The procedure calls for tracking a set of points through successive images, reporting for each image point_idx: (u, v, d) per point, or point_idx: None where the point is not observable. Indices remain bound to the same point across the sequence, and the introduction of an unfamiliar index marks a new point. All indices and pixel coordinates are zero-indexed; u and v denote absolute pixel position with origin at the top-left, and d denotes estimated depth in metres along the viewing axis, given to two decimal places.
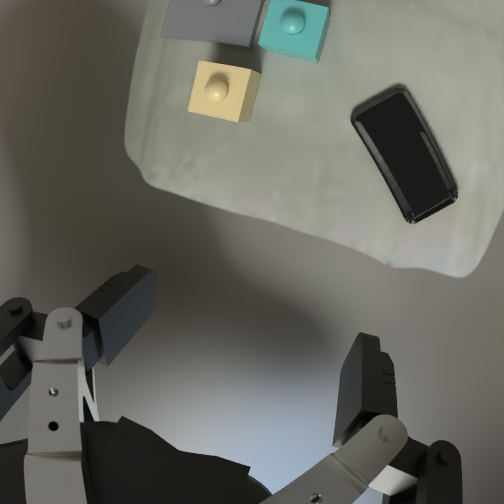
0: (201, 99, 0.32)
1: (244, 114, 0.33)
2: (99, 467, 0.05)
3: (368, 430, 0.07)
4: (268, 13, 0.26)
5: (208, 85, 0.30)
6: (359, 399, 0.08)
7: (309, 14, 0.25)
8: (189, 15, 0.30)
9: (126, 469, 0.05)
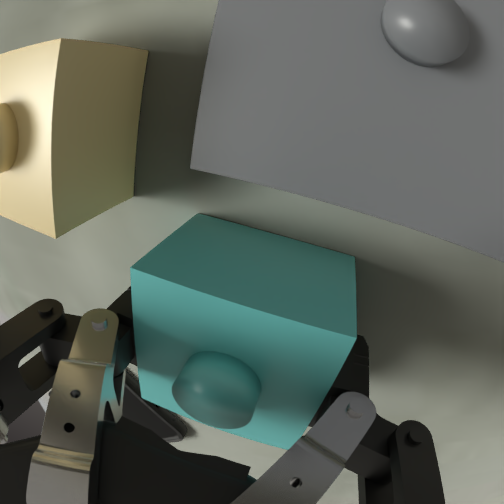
0: None
1: None
2: (99, 467, 0.05)
3: (335, 405, 0.07)
4: (266, 318, 0.08)
5: None
6: None
7: (264, 419, 0.09)
8: None
9: (126, 469, 0.05)
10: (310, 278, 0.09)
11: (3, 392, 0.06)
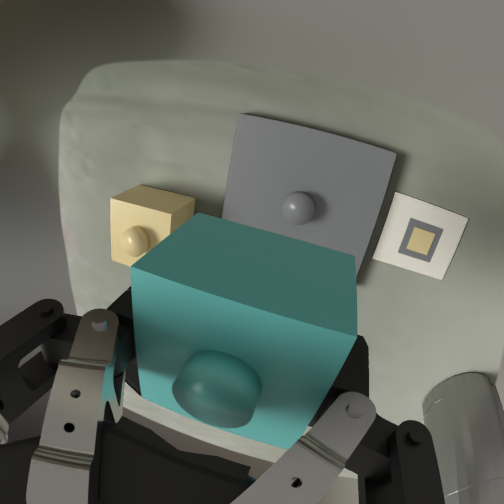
0: (125, 216, 0.25)
1: None
2: (99, 467, 0.05)
3: (335, 405, 0.07)
4: (266, 317, 0.08)
5: (135, 236, 0.24)
6: None
7: (265, 418, 0.09)
8: (271, 166, 0.23)
9: (126, 469, 0.05)
10: (310, 277, 0.09)
11: (3, 392, 0.06)
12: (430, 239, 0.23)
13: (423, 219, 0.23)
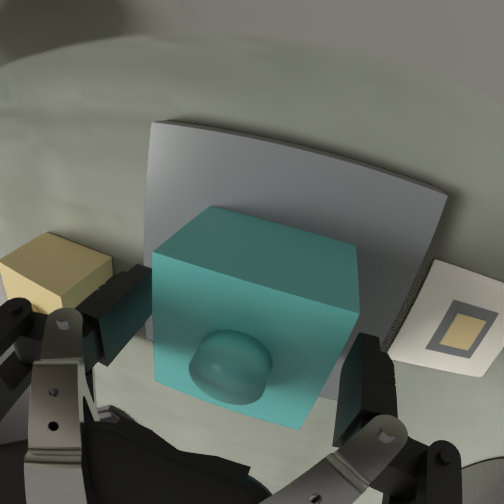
0: (16, 288, 0.15)
1: None
2: (99, 467, 0.05)
3: (368, 430, 0.07)
4: (278, 296, 0.08)
5: None
6: (359, 399, 0.08)
7: (274, 397, 0.10)
8: None
9: (126, 469, 0.05)
10: (316, 263, 0.10)
11: None
12: (478, 327, 0.13)
13: (472, 300, 0.13)
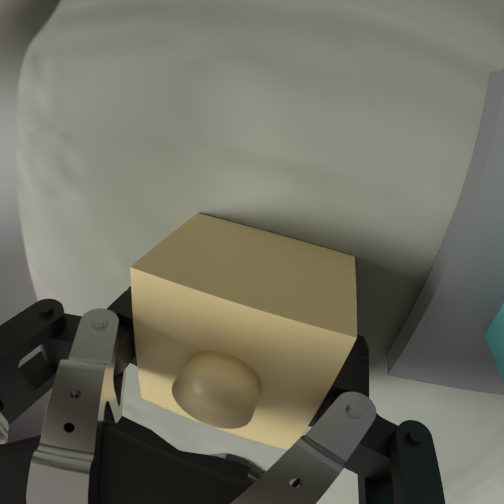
0: (181, 324, 0.08)
1: None
2: (99, 467, 0.05)
3: (335, 405, 0.07)
4: None
5: (225, 392, 0.08)
6: None
7: None
8: None
9: (126, 469, 0.05)
10: None
11: (3, 392, 0.06)
12: None
13: None
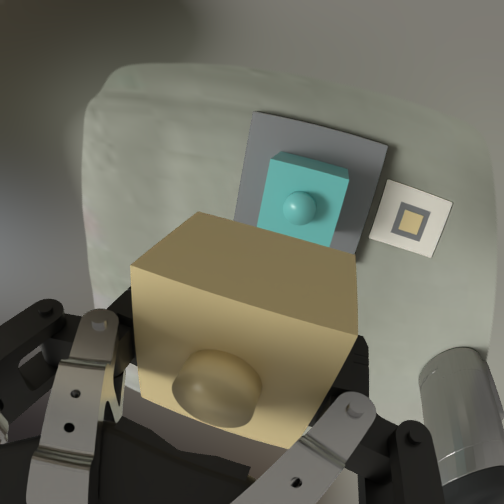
0: (181, 323, 0.08)
1: None
2: (99, 467, 0.05)
3: (335, 405, 0.07)
4: (319, 173, 0.23)
5: (225, 391, 0.08)
6: None
7: (316, 227, 0.24)
8: None
9: (126, 469, 0.05)
10: (331, 169, 0.24)
11: (3, 392, 0.06)
12: (419, 220, 0.27)
13: (412, 203, 0.27)
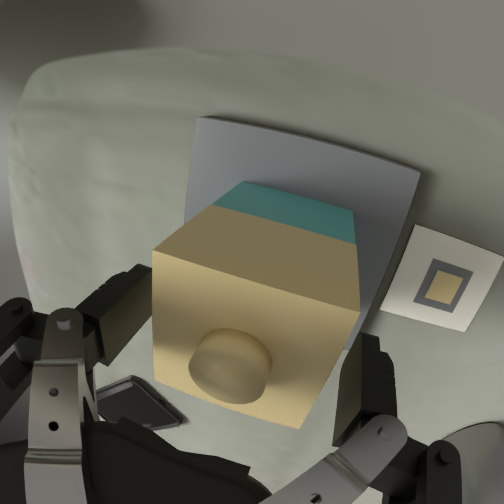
0: (199, 303, 0.09)
1: None
2: (99, 467, 0.05)
3: (368, 430, 0.07)
4: None
5: (240, 366, 0.09)
6: (358, 399, 0.08)
7: None
8: None
9: (126, 469, 0.05)
10: (324, 217, 0.14)
11: None
12: (456, 284, 0.17)
13: (449, 260, 0.16)
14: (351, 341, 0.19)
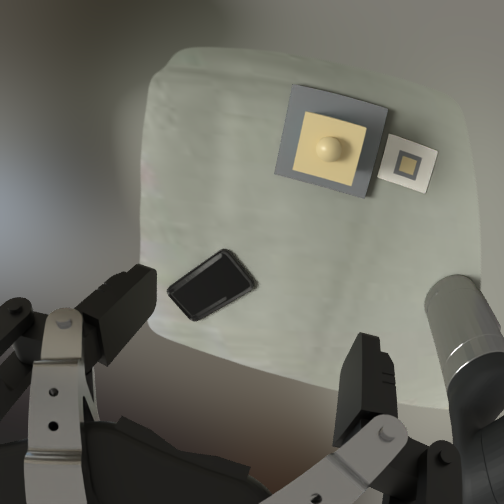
0: (319, 128, 0.28)
1: None
2: (99, 467, 0.05)
3: (368, 430, 0.07)
4: None
5: (334, 142, 0.27)
6: (359, 399, 0.08)
7: None
8: None
9: (126, 469, 0.05)
10: None
11: None
12: (414, 164, 0.36)
13: (408, 151, 0.35)
14: (365, 192, 0.38)
